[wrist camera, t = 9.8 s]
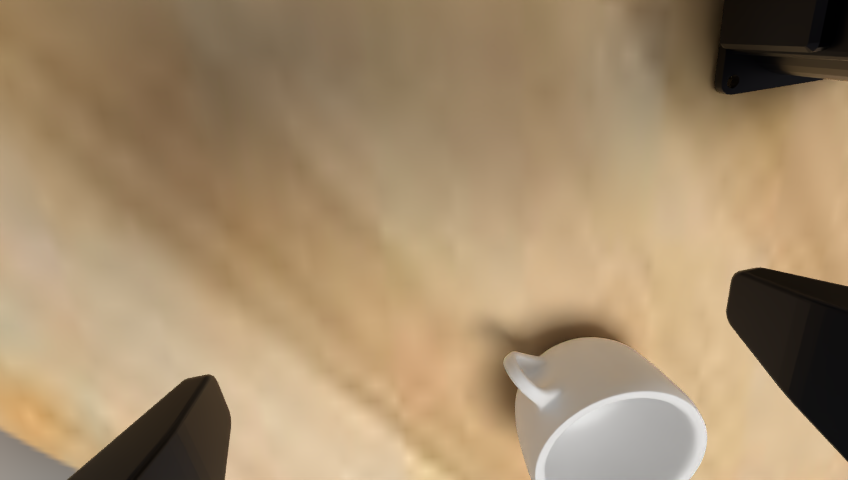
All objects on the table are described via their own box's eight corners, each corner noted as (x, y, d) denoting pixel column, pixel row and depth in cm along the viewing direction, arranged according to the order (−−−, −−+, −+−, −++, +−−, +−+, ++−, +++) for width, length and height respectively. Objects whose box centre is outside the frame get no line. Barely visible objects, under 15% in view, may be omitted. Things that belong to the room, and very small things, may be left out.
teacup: (667, 361, 25) (742, 440, 20) (565, 450, 27) (612, 543, 22) (543, 262, 22) (599, 331, 17) (436, 373, 23) (458, 464, 19)
